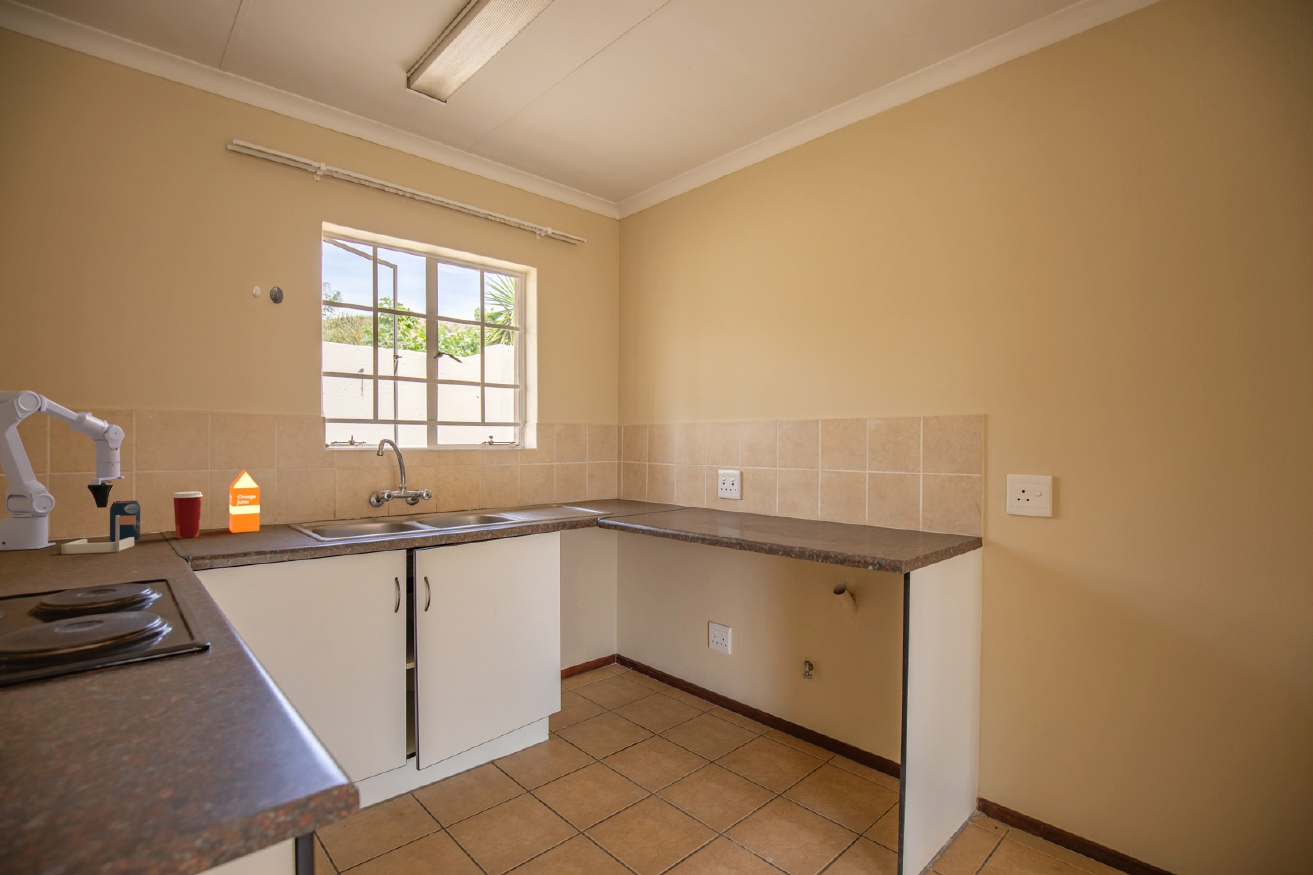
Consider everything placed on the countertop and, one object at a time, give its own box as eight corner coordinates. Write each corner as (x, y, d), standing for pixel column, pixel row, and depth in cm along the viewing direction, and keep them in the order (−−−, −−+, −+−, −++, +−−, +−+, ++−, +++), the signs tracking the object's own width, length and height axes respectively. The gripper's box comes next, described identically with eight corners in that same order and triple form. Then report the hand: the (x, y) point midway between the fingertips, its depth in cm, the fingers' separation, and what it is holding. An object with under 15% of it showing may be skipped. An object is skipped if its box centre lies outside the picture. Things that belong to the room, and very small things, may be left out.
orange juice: (256, 527, 216) (256, 469, 216) (259, 530, 210) (260, 470, 210) (228, 529, 212) (229, 470, 212) (231, 532, 205) (232, 471, 205)
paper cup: (208, 535, 199) (209, 491, 199) (188, 539, 191) (188, 493, 191) (186, 534, 200) (186, 491, 200) (165, 538, 192) (165, 493, 192)
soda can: (142, 541, 187) (142, 501, 187) (111, 544, 182) (111, 503, 182) (137, 539, 192) (137, 499, 192) (107, 541, 186) (108, 501, 186)
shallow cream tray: (58, 554, 166) (59, 517, 166) (82, 547, 176) (83, 512, 176) (134, 551, 171) (134, 515, 171) (153, 544, 181) (153, 510, 181)
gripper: (111, 463, 190) (111, 508, 190) (135, 461, 204) (135, 502, 204) (82, 464, 188) (83, 509, 188) (108, 461, 202) (109, 503, 202)
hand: (108, 505), depth 196 cm, fingers open, 7 cm apart
